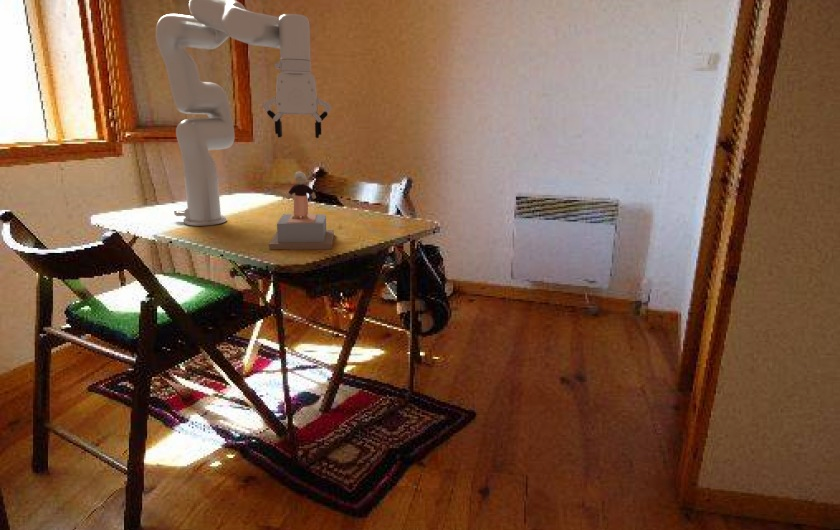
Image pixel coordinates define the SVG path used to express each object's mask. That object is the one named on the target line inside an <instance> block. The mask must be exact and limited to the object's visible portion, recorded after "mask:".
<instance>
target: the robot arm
mask: <svg viewBox="0 0 840 530" xmlns="http://www.w3.org/2000/svg"><path fill="white" fill-rule="evenodd" d="M188 2H189V3H188V9H189V13H190V14H191V15H187V14H180V13H179V14H178V13H169V14H165V15H163V16H161V17H160V18H159V19H158V21H157V23H156V27H155V41H156V45H157V48H158V51H159V53H160V56H161V58H162V60H163V62H164V65H165V68H166V72H167V77H168V81H169V82H168V83H169V86H170V90H171V94H172V98H173V102H174V105H175V108H176V109H177V111H178V112H179V113H181V114H186V115H206V116H207V117H206V118H205V117H199V118H196V117H193V118H187V119H183V120H182V121H180V122H178V124H177V126H176V128H175V136H176V140H177V143H178V147H179V150H180V155H181V160H182V161H181V162H182V167H183V168H182V169H183V175H184V176H183V177H184V185H185V195H186V197H185V198H186V205H187V207H185V208H184V209H181V208H179V209H178V208H177V209H174V211H173V212H174V215H175V216H176V217H184V218H183V224H185V225H187V226H194V227H195V226H196V227H197V226H198V227H199V226H200V227H202V226H203V227H204V226H205V227H207V226H215V225H220V224H223V223H226V222H227V217H226V216H225V215H222V213H221V202H220V191H219V189H220V188H219V179H218V177H219V176H218V170H217V164H216V161H215V159H214V158H213V156H212V154H211V153H210V151H216V150H217V151H218V150H219V151H220V150H226V149H229V148H231V147H232V146H233V144H234V142H235V140H236V139H235V137H236V136H235V128H234V127H235V126H234V122H233V118H232V111H231V108H230V102H229V99H228V96H227V94H226V91H225V90H224V88H223V87H222V86H221V85H219V84H218V83H215V82H212V81H202V80H201V78H200V73H199V68H198V65H197V63H196V62H195V60H194V58H193V57H192V56H191V54H189V52H188V51H187V50H186V48H192V49H201V50H215V49H217V48H219V47H220V46H221V45H222V44H224V43H225V41H227V40H228V39H229V38H231V39H233V40H236V41H239V42H241V43H244V44H248V45H251V46H256V47H264V48H265V47H267V48H272V49H279V61H278V62H274V68H275V69H278V70H279V71H280V72H277V75H276V86H275V89H276V90H275V91H276V93H275V97H272V98H271V99H269V100H267V101H265V102H264V103H262V106H263V109H264V110H265V112H266V114H267V115H268V116H269V118H271V119H272V120H273V121H274V133H275V135H277V138H281V137H283V125H282V121H281V119H282V117H283V116H284V115H306V116H308V115H311V116H312V117H313V118H314V119H315V122H314V132H315V133H314V135H315V136H314V137H315V138H316V139H319V138H320V136H322V121H323V120H324V119H325V118H326V117H328V115H329V113H330V112H331V111H330V110H331V109H332V104H330V103H328V102H327V101H325V100H323V99H321V98H319V97H318V94H317V92H318V91H317V85H316V79H315V78H316V77H315V75H314V74H312V62H311V32H310V31H311V30H310V20H309V18H308V17H307V16H306V15H303V14H296V13H283V14H281V15H280V16H275V15H270V14H266V13H260V12H259V13H258V12H253V11H251V10H247V9H246V7H245V6H244V5H243V4H242V3H241V2H239V1H238V0H189V1H188ZM274 104H275V105H276V111H277V112H276V113H275V112H274V111H273V110H272V108H271V106H273V105H274ZM318 105H321V106H322V107H324V110H323V112H322V113H321V114H319V113H318V108H319V107H318Z"/></svg>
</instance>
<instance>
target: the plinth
mask: <svg viewBox="0 0 840 530" xmlns="http://www.w3.org/2000/svg"><path fill="white" fill-rule="evenodd" d="M293 215H294V213H292V214H282V215H281V217H280V218H279V220H278V221H277V223H276V230H277V231H276V232H275V234H274V235H273V237H272V239H271V240H270V242H269V243H268V250H269V251H272V250H271V249H289V250H332V246H333V241H334V236H335V231H334V229H327V214H323V213H322V214H320V213H319V214H317V213H308V215H307V216H308V219H301V217H302V216H300V218H298V219H292V216H293Z"/></svg>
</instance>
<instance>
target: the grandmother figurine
mask: <svg viewBox="0 0 840 530" xmlns="http://www.w3.org/2000/svg"><path fill="white" fill-rule="evenodd" d="M307 180H308V177H307V175H306V174H305V173H304V172H303V171H301V170H299V171H296V172H295V173H294V181H295V182H296V184H294V185H292V186H291V188H290V189H289V191H288V193H287V196H286V199H287V200H291V197H292V195H294V196H293V214H294V215H293V216H292V219H298V218H300V216H302V217H301V219H308V216H307V215H308V214H309V199H308V195H310V196H311V197H312V199H313V200H314V199H316V198H317V196H316V194H315V191H314V189H312V188H311V186H309V185H306V184H305V182H306V181H307Z"/></svg>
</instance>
